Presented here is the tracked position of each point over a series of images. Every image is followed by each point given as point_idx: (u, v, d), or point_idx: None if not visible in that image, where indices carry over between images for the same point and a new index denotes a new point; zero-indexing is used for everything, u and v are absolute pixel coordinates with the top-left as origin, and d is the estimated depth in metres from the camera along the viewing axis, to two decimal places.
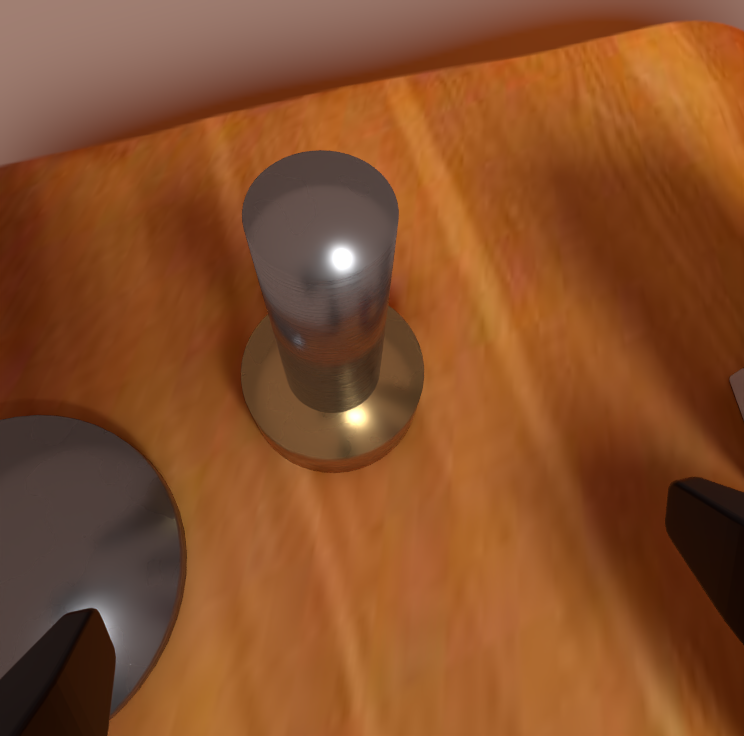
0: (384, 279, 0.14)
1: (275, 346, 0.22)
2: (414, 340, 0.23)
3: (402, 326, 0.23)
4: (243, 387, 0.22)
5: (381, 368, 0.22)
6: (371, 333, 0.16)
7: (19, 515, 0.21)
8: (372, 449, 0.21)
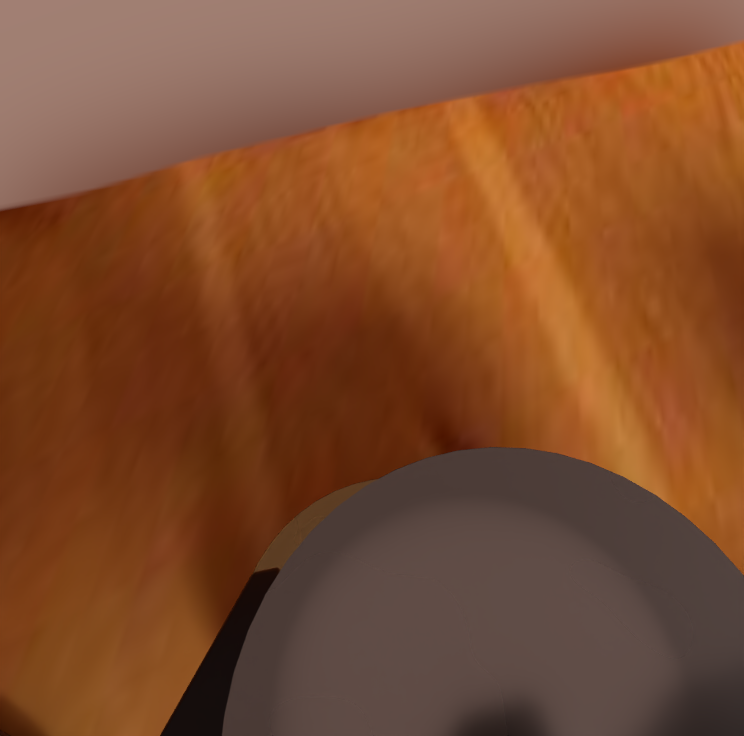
0: None
1: None
2: None
3: None
4: None
5: None
6: None
7: None
8: None
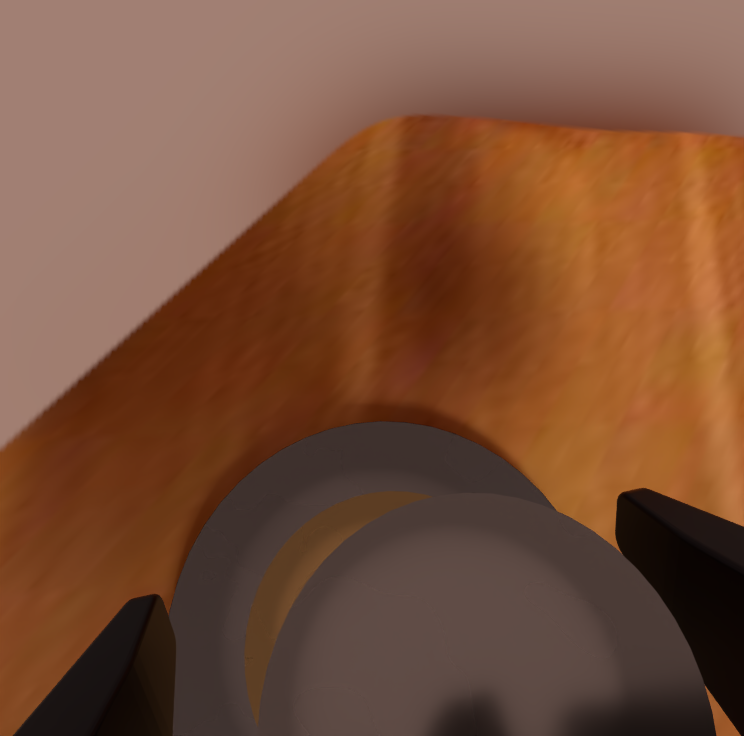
0: None
1: None
2: None
3: None
4: (248, 685, 0.13)
5: None
6: None
7: None
8: None
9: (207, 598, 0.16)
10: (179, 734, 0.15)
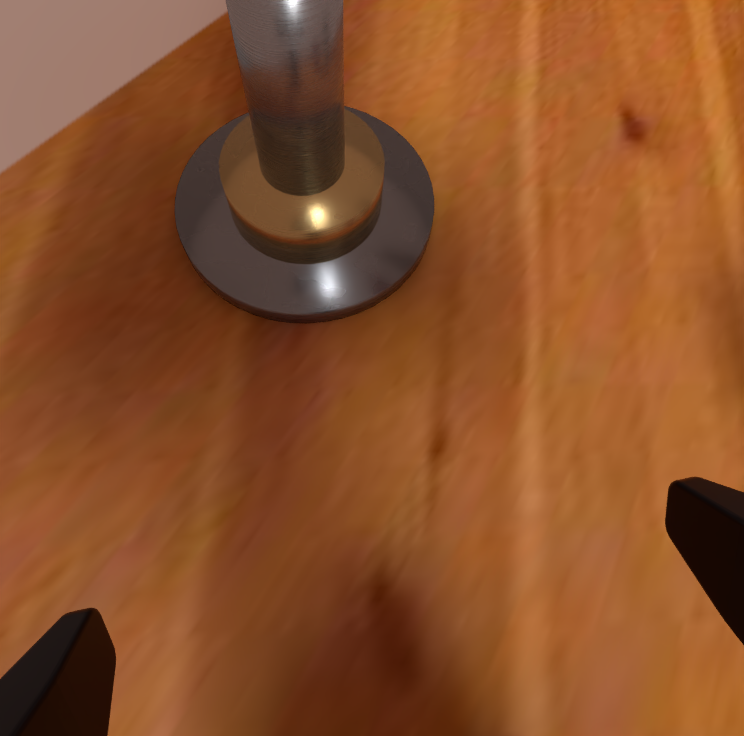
0: None
1: (250, 143, 0.25)
2: (376, 141, 0.25)
3: (366, 130, 0.25)
4: (221, 175, 0.24)
5: (346, 162, 0.25)
6: (327, 69, 0.19)
7: None
8: (335, 224, 0.23)
9: (199, 180, 0.27)
10: (183, 237, 0.26)
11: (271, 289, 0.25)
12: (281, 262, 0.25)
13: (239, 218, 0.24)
